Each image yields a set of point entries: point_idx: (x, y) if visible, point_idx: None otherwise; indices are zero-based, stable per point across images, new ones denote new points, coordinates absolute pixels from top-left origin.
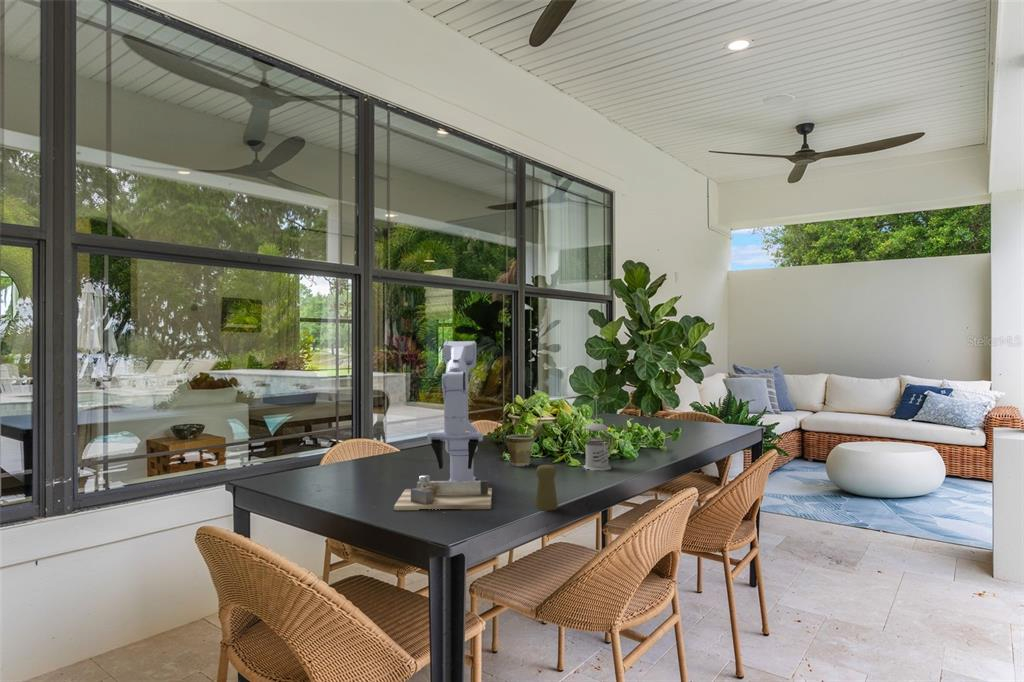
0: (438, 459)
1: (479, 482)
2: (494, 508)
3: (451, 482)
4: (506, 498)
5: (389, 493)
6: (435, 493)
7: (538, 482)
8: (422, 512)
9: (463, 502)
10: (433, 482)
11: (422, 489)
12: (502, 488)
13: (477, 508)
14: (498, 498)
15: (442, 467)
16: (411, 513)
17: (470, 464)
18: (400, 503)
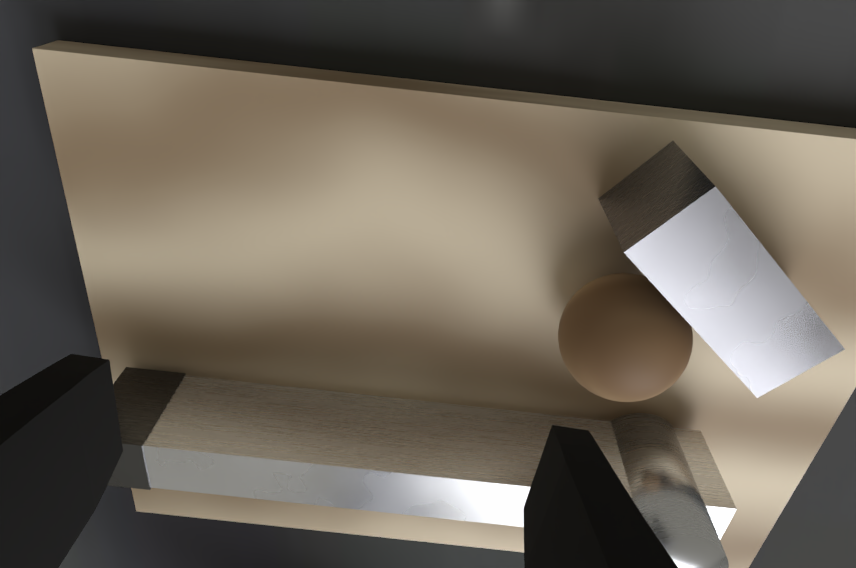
0: (650, 556)
1: (154, 443)
2: (32, 63)
3: (414, 472)
4: (10, 342)
5: (834, 564)
6: (575, 306)
7: None
8: (715, 24)
9: (312, 165)
10: None
11: (726, 315)
12: (98, 549)
13: (181, 54)
14: (71, 351)
15: (532, 486)
16: (831, 2)
17: (15, 390)
18: None
